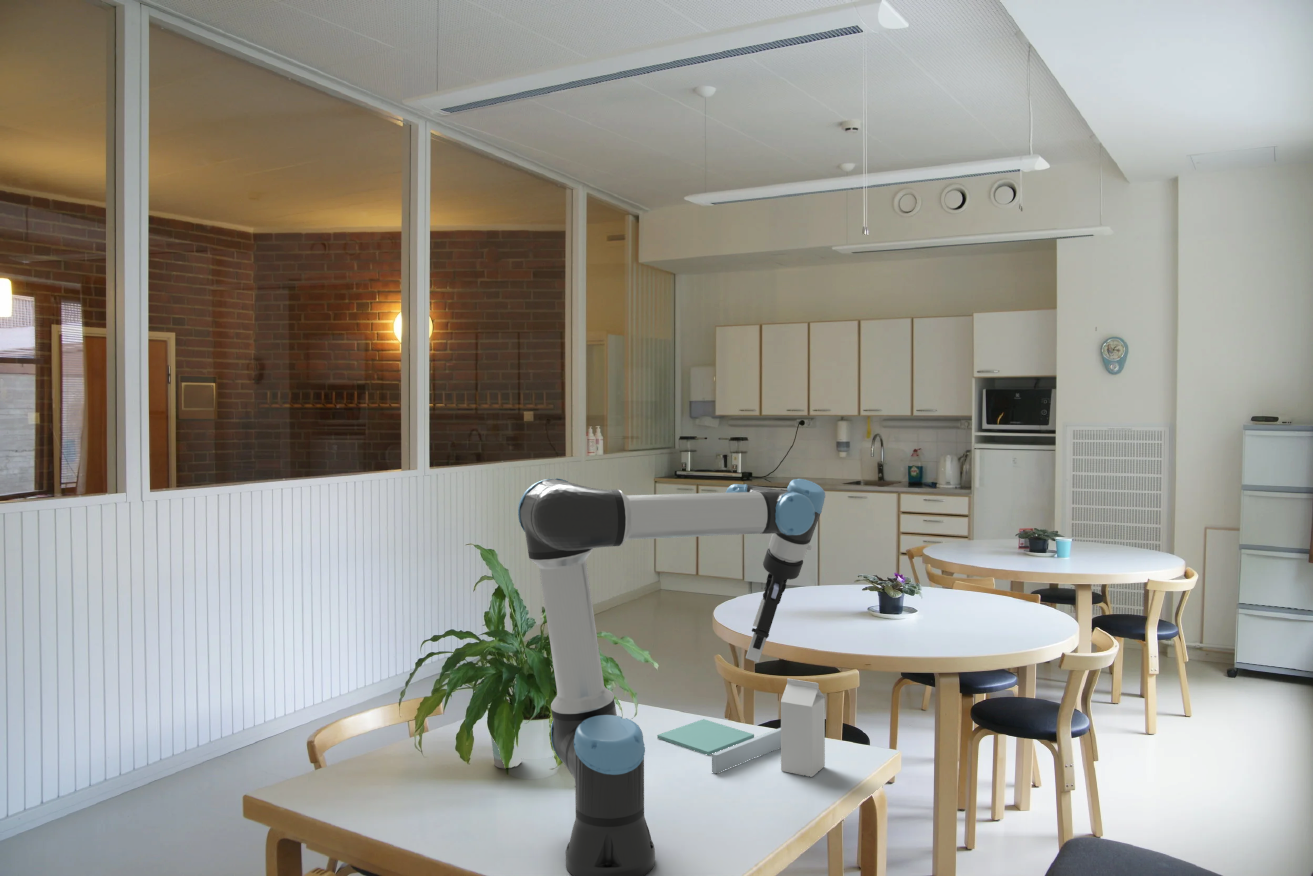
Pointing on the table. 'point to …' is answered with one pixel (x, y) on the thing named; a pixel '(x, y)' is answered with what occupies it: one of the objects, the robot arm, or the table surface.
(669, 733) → the teal board
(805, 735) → the milk carton
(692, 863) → the table surface
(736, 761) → the acrylic wall
